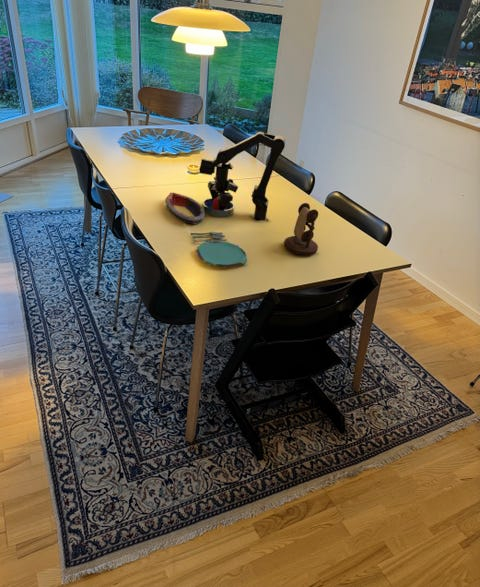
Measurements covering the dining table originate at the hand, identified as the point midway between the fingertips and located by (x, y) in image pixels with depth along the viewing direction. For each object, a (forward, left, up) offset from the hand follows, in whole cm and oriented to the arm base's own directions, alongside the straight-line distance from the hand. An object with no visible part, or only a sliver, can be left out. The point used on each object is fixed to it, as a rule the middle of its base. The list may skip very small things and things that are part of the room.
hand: (218, 207), depth 216 cm
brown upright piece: (-42, -23, -2) cm, 48 cm away
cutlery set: (-38, +14, -2) cm, 41 cm away
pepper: (0, 0, -2) cm, 2 cm away
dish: (0, +17, -2) cm, 17 cm away
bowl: (0, 0, -2) cm, 2 cm away
